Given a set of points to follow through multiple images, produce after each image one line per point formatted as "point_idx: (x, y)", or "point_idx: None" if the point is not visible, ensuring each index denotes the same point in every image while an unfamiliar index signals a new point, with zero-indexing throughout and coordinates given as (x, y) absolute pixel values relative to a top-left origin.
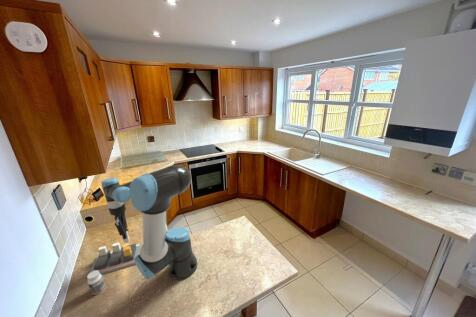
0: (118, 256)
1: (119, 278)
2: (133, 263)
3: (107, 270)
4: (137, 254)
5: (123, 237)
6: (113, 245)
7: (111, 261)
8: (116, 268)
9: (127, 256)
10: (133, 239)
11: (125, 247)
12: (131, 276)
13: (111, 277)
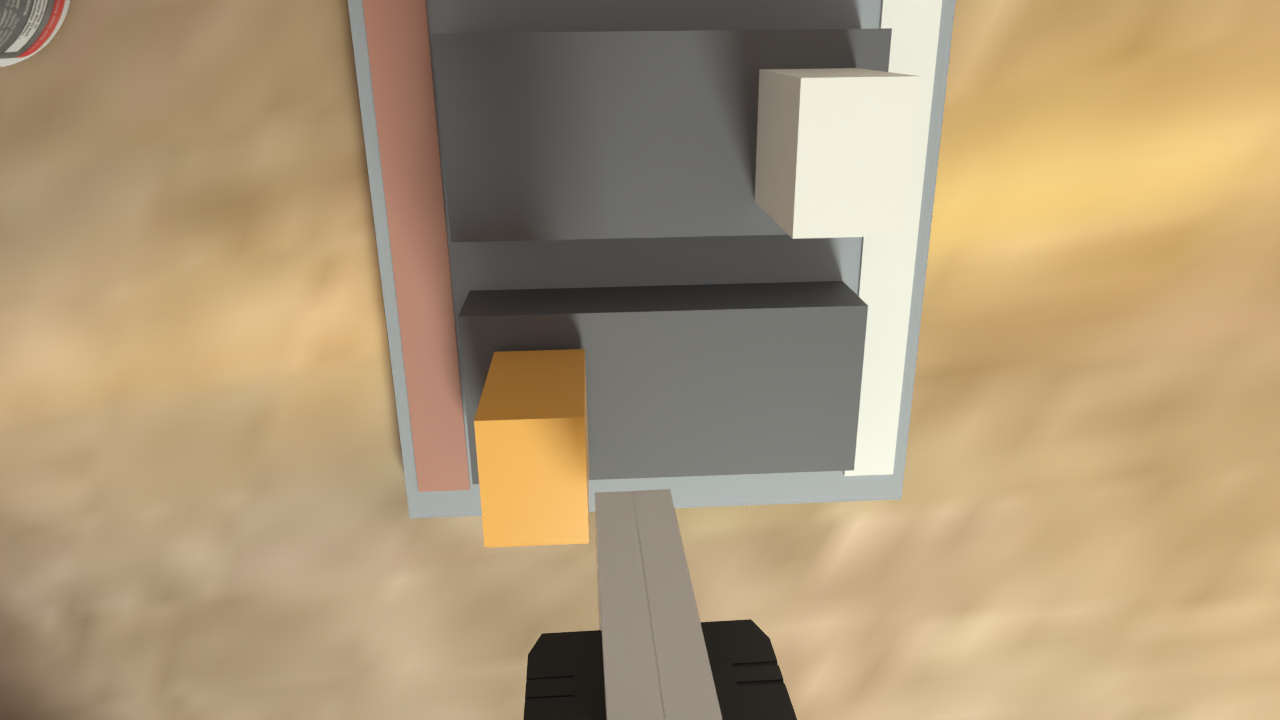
0: (573, 209)
1: (162, 264)
2: (406, 447)
3: (352, 15)
4: (599, 485)
5: (525, 706)
6: (830, 107)
7: (458, 92)
8: (374, 177)
9: None
10: (1160, 302)
11: (573, 453)
12: (161, 440)
13: (219, 117)
